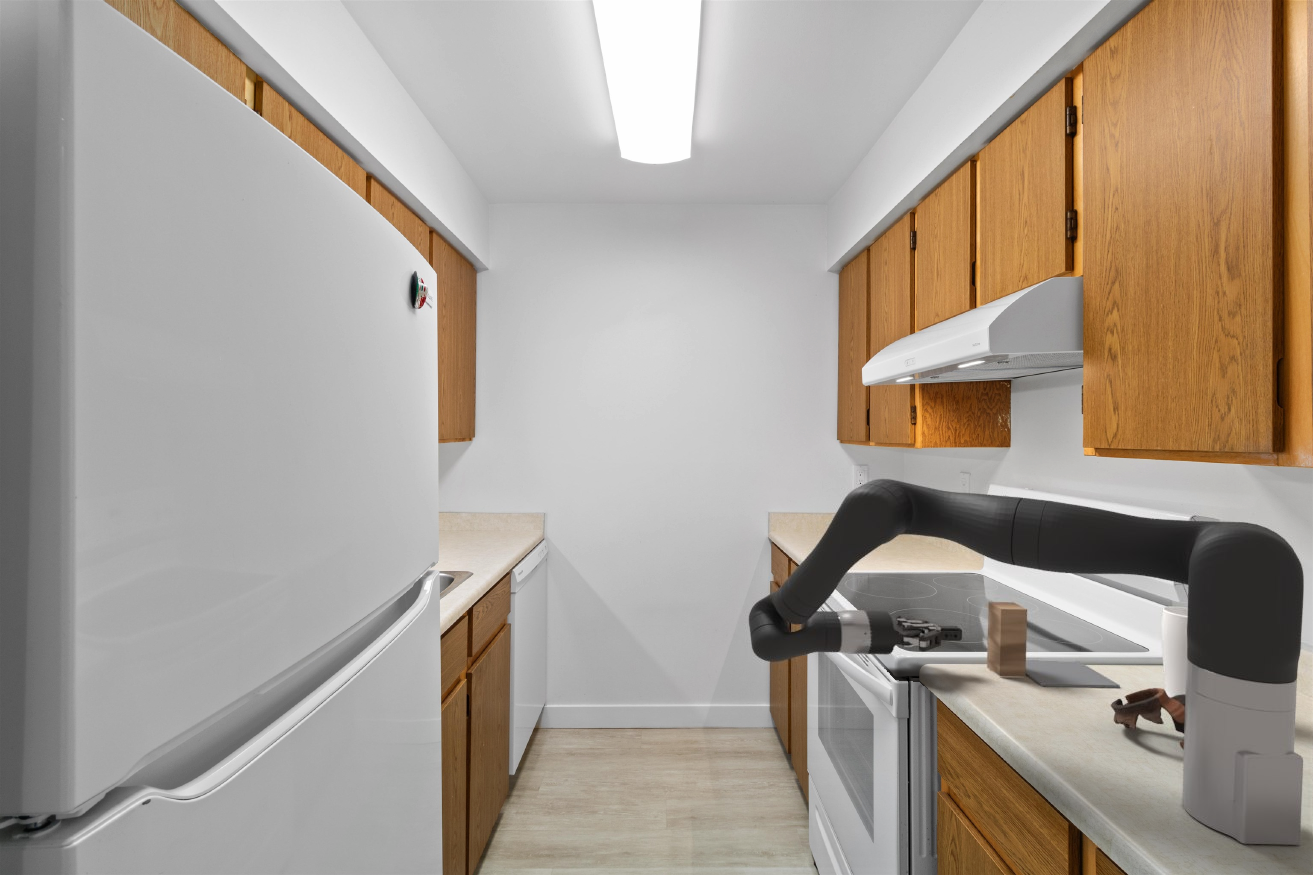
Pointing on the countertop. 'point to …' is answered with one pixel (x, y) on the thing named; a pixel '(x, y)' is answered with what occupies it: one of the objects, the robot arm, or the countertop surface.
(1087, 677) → the mat
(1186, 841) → the countertop surface
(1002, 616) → the plain brown block
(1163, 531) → the robot arm
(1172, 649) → the drinking glass
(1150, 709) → the brown jagged ring
